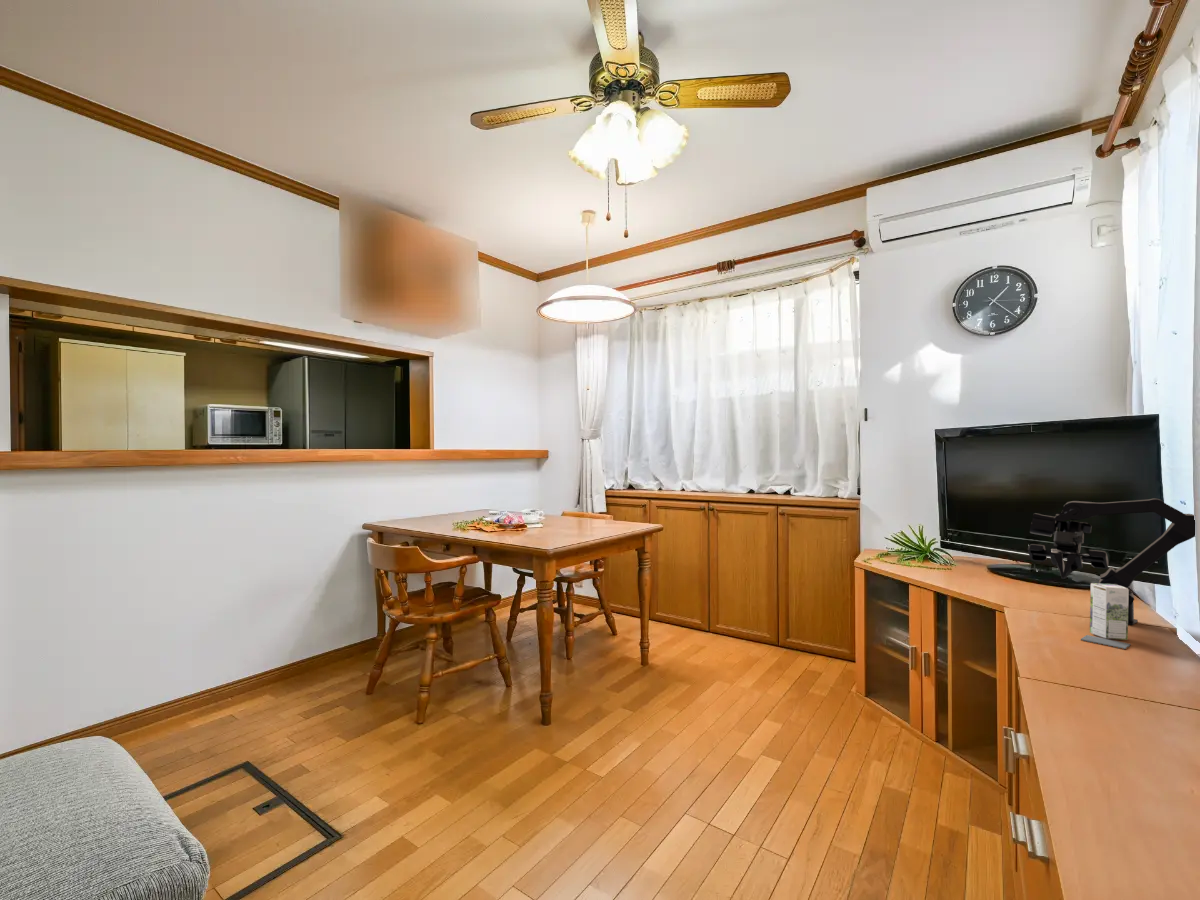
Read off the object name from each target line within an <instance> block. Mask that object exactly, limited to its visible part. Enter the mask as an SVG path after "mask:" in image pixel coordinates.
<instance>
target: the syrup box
mask: <svg viewBox="0 0 1200 900" xmlns="http://www.w3.org/2000/svg"><path fill="white" fill-rule="evenodd" d="M1129 591H1130V590H1129V587H1128V588H1125V587H1123V586H1119V585H1115V584H1099V582H1098V583H1095V582H1090V603H1089V604H1090V606H1089V610H1090V611H1089V614H1090V615H1089V633H1090V634H1092V635H1093V636H1096V637H1100V638H1104V639H1109V640H1118V641H1119V640H1122V641H1126V640H1128V639H1129V638H1128V637H1129V624H1128V600H1129Z"/></svg>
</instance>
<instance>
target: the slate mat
mask: <svg viewBox="0 0 1200 900" xmlns="http://www.w3.org/2000/svg"><path fill="white" fill-rule="evenodd" d="M1082 640H1083V642H1086V641H1087V642H1086V643H1091V642H1093V643H1092V644H1096V643H1098V644H1097V645H1101V644H1103V645H1102V646H1105V645H1108V646H1107V647H1110V646H1113V647H1112V648H1115V647H1118V648H1117V649H1119V648H1123V649H1122V650H1124V649H1126V648H1127V647H1128V648H1129V647H1131V646H1130V645H1132V644H1131V643H1128V642H1124V641H1119V640H1115V639H1106V638H1103V637H1100V636H1096V635H1089V634H1087V635H1084V636H1082V637H1081V638H1080V641H1082ZM1128 648H1127V649H1128ZM1127 649H1126V650H1127Z"/></svg>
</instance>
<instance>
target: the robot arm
mask: <svg viewBox="0 0 1200 900" xmlns="http://www.w3.org/2000/svg"><path fill="white" fill-rule="evenodd" d="M1141 513H1155V514H1156V515H1158V516H1160V517H1162V518H1164V519H1165V520H1166V521H1168V522H1170V524H1169V526H1168V527H1167V528H1166V529H1165V531H1164V532H1163V533H1162V535H1161V536H1159V537H1158V538H1157V539H1156V540H1154V541H1153V542H1152V543H1151V544H1149V545H1148V546H1146V548H1144V549H1143V550H1142V551H1140V552H1139V553H1138V554H1137V555H1135V556H1134V557H1133V558H1131V560H1129V561H1128V562H1127V563H1126V564H1124V565H1123V566H1121V567H1119V568H1117V569H1115V568H1114V567H1113V566H1110V567H1109V558H1108V554H1107V552H1106V551H1104V550H1098V549H1097V550H1095V549H1094V550H1093V549H1088V553H1085V552H1084V553H1083V552H1081V549H1082V548H1081V547H1082V544H1084V543H1085V542H1084V541H1085V534H1084V533H1086V534H1091V533H1092V527H1093V525H1091V524H1090V523H1088V522H1087V521H1079V520H1085V519H1089V518H1093V517H1098V516H1105V515H1123V514H1125V515H1126V514H1141ZM1194 515H1195V514H1193V513H1192V514H1191V513H1183V512H1182V511H1180V510H1179V509H1177V508H1175V507H1173V506H1171V505H1169V504H1167V503H1166V502H1164V501H1163V500H1162V499H1160V498H1149V499H1136V500H1125V501H1124V500H1122V501H1109V502H1107V501H1106V502H1094V501H1093V502H1092V501H1083V500H1082V501H1079V500H1072V501H1067V502H1066V503H1065V504H1064V505H1063V507H1062V510H1061V512H1059V513H1056V514H1055V516H1052V515H1046V514H1045V515H1044V514H1041V513H1036V512H1035V513H1033V516H1032V520H1031V523H1030V526H1029V533H1030V534H1034V535H1039V536H1046V537H1050V538H1051V537H1052V536H1053V542H1054V543H1053V548H1051V549H1049V550H1048V549H1047V548H1046V546H1045V545H1044V544H1035V543H1031V544H1029V545H1028V547H1027V552H1028V557H1029V559H1030V560H1031V561H1033V562H1041V563H1042V562H1045V561H1047V559H1048V558H1050V561H1051V564H1052V565H1053V566H1056V567H1057V568H1058V571H1059V574H1060V577H1061V579H1065V580H1066V579H1067V578H1068V577H1069V576H1070V575H1071V574H1072V573H1073V572H1074V571H1076V570H1078V569H1083V567H1084V565H1083V562H1084V561H1087V562H1090V563H1091V564H1090V565H1091V567H1093V568H1094V569H1102V570H1106V571H1105V572H1104V573H1101V574H1100V575H1099V581H1098V583H1099V584H1115V585H1119V586H1123V587H1125V588H1128V589H1129V587H1130V586H1131V585H1132V583H1133V581H1134V580H1135V579H1136V578H1137V577H1138V576H1139V575H1141V573H1143V572H1144V571H1145V570H1147V569H1148V568H1150V567H1151V566H1152V565H1153V564H1154V563H1156V562H1157V561H1159V560H1160V559H1161V558H1162V557H1164V556H1165V555H1166V554H1167V553H1169V552H1170V551H1171V550H1172V549H1174V548H1175V547H1176V546H1178V545H1180V544H1183V543H1184V542H1187V541H1190V540H1191V539H1193V538H1195V537H1196V536H1195V520H1194ZM1068 520H1069V521H1068ZM1058 529H1059V531H1058ZM1064 560H1066V563H1065V562H1064ZM1134 601H1135V597H1134V593H1133V592H1132V591H1131V590H1129V600H1128V625H1131V626H1132V625H1133V626H1134V625H1135V624H1137V621H1138V619H1135V617H1134V616H1135V613H1134V612H1135V611H1134V610H1135V609H1134V607H1135V606H1134Z"/></svg>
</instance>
